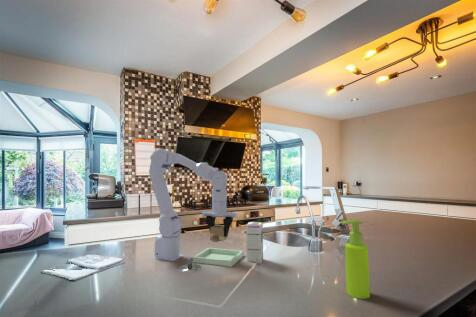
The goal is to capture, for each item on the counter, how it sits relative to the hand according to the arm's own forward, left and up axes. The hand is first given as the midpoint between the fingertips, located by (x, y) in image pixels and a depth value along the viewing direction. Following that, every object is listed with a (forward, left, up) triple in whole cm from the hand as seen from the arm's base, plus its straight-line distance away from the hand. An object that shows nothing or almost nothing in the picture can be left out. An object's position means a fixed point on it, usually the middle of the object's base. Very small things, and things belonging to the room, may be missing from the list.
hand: (219, 236), depth 99 cm
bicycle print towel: (-43, -23, -10) cm, 50 cm away
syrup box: (+13, +4, -10) cm, 17 cm away
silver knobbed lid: (-6, -13, -9) cm, 17 cm away
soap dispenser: (+47, -14, -10) cm, 50 cm away
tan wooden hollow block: (0, 0, -1) cm, 1 cm away
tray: (0, 0, -9) cm, 9 cm away
